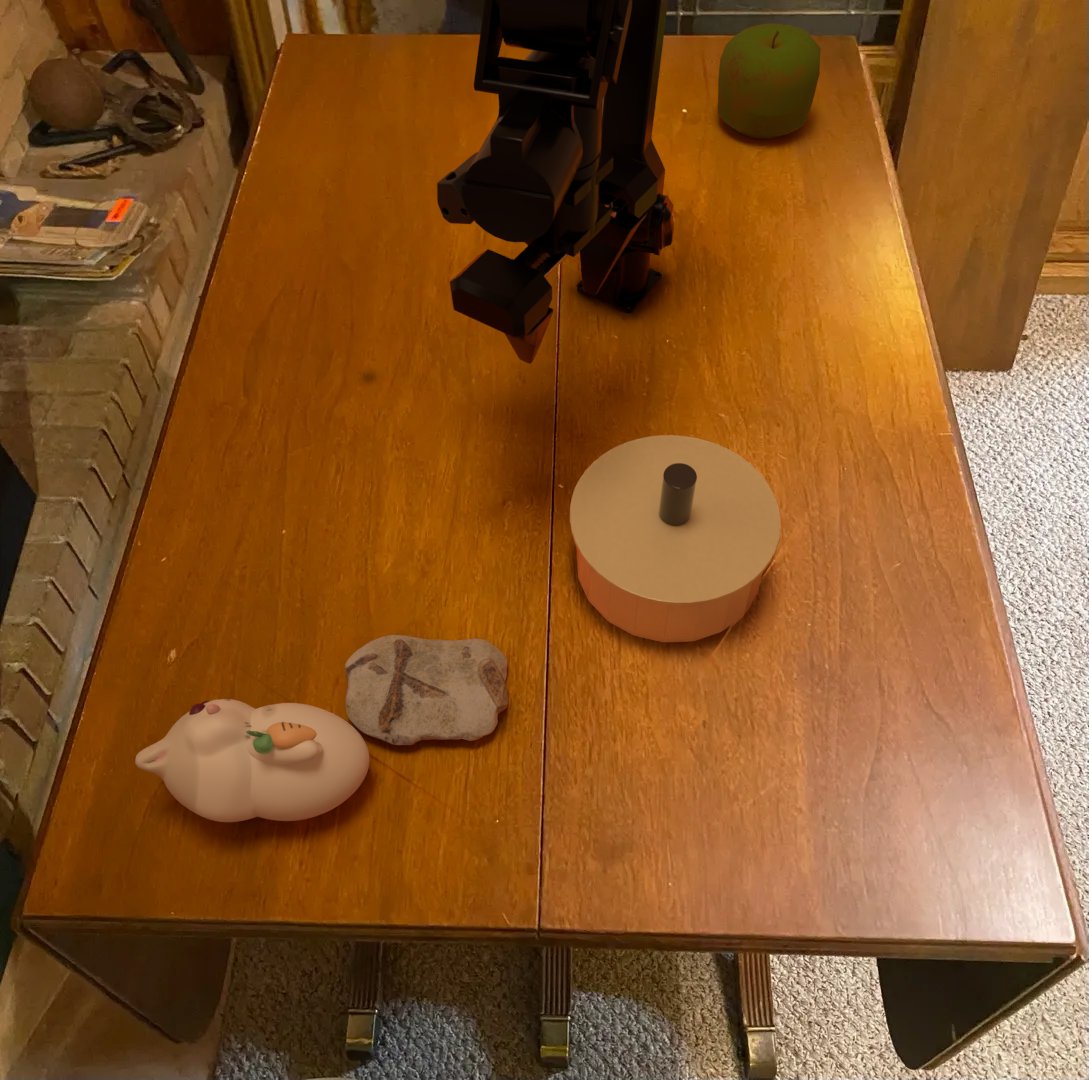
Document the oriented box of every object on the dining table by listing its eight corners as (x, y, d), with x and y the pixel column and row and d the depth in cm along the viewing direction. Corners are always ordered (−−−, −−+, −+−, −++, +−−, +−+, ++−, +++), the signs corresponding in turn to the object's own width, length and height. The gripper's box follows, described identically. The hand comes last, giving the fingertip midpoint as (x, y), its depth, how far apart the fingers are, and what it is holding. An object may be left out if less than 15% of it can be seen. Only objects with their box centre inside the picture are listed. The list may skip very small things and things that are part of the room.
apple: (786, 89, 122) (803, -3, 113) (824, 140, 116) (845, 46, 107) (698, 105, 121) (709, 13, 112) (732, 157, 114) (746, 64, 106)
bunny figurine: (366, 707, 65) (122, 704, 63) (361, 836, 64) (115, 836, 63) (375, 696, 74) (163, 693, 73) (371, 808, 74) (157, 807, 72)
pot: (636, 470, 88) (640, 418, 83) (790, 545, 83) (805, 495, 78) (542, 588, 81) (540, 541, 76) (703, 678, 76) (714, 634, 71)
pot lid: (637, 415, 84) (641, 366, 79) (813, 498, 79) (828, 450, 74) (529, 547, 76) (526, 501, 72) (716, 648, 71) (726, 605, 66)
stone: (343, 758, 73) (335, 738, 70) (351, 647, 78) (344, 625, 76) (510, 750, 73) (508, 730, 71) (507, 639, 78) (505, 617, 76)
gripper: (536, 49, 75) (540, 227, 87) (373, 180, 66) (404, 356, 78) (669, 94, 71) (653, 273, 83) (515, 239, 62) (524, 415, 75)
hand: (559, 325), depth 80 cm, fingers open, 9 cm apart
